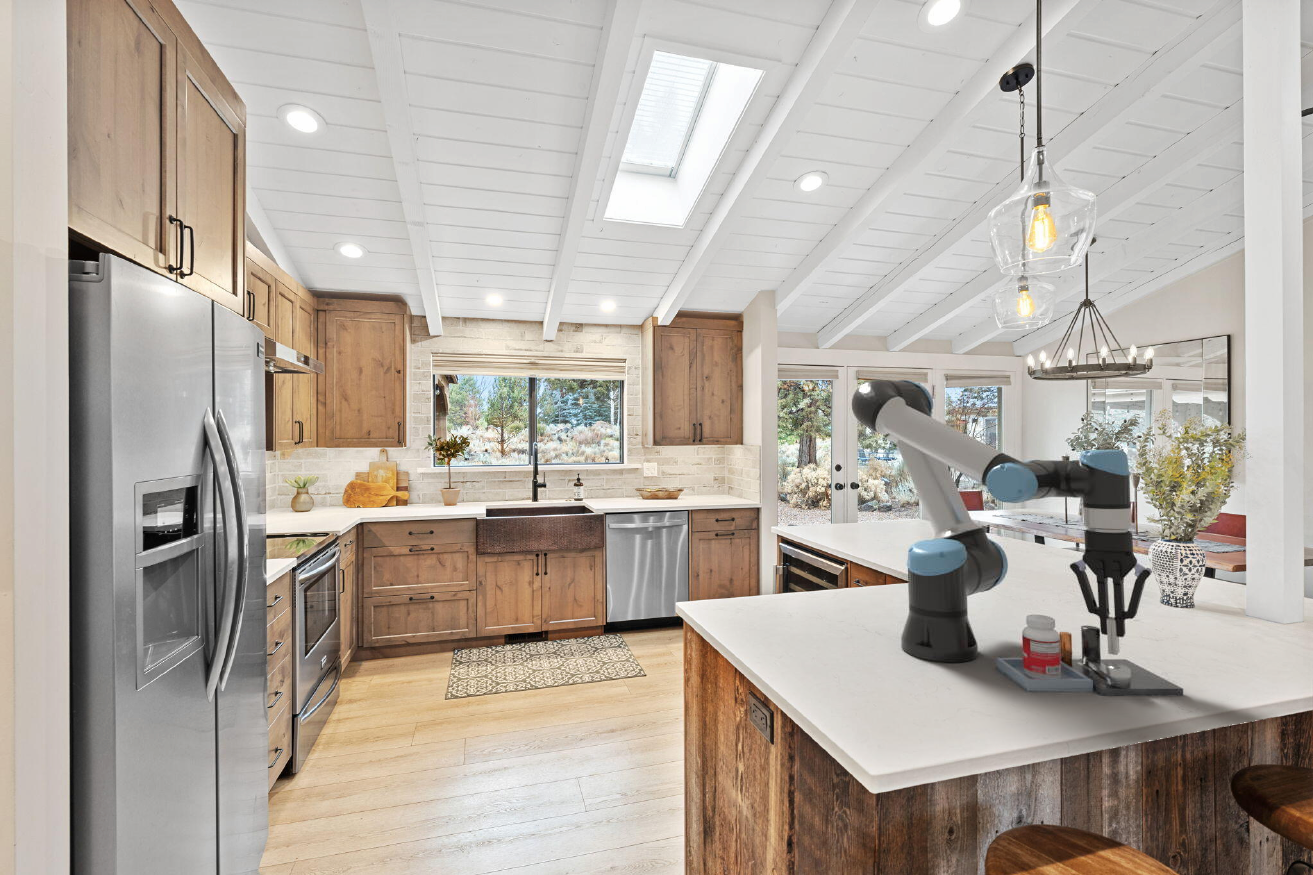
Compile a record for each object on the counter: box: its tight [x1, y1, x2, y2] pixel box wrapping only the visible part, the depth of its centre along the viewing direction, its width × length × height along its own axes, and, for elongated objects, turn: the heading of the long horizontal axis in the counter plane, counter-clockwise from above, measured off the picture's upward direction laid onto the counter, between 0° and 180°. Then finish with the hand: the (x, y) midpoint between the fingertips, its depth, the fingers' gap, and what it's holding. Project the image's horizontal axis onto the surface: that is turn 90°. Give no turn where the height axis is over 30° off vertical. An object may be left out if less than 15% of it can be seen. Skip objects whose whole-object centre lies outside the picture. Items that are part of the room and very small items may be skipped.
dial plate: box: [1058, 631, 1184, 697], centre depth 117 cm, size 14×14×7 cm
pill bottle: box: [1021, 614, 1061, 679], centre depth 118 cm, size 6×6×11 cm
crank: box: [1080, 625, 1131, 688], centre depth 116 cm, size 13×4×7 cm, turn 168°
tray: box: [995, 657, 1094, 693], centre depth 118 cm, size 12×12×2 cm
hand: (1113, 652), depth 119 cm, fingers closed
